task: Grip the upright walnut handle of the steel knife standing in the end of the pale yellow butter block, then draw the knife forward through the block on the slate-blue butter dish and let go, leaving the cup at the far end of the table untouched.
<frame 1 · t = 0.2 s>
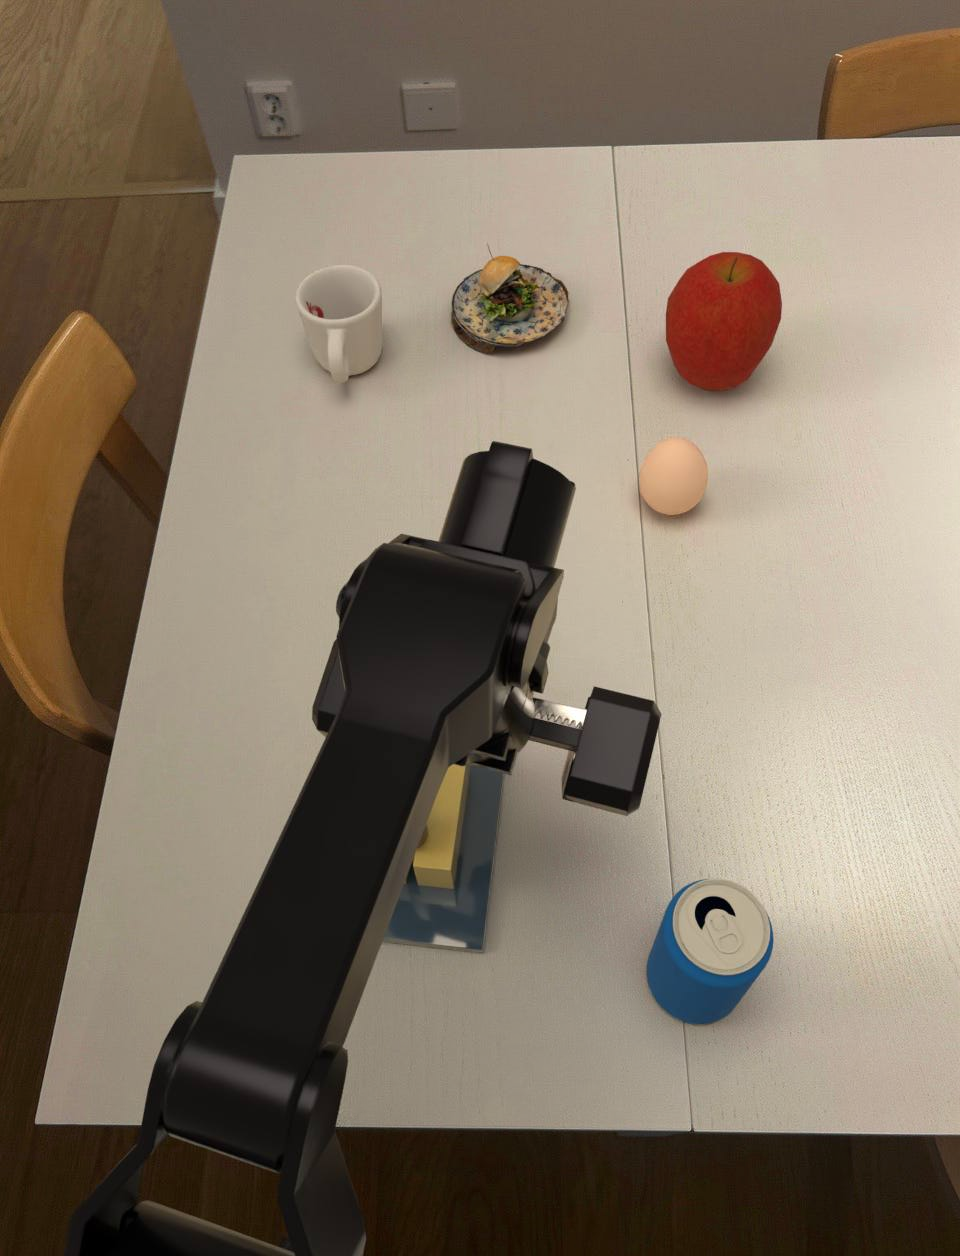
hand: (498, 748, 67), 13 cm above the table, tool pointing down, fingers open, 9 cm apart
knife: (411, 811, 72), point 7 cm above the table, slide at 0.0 cm
apple: (710, 377, 102), on the table
burger: (510, 317, 107), on the table
egg: (668, 505, 94), on the table
beverage can: (692, 978, 72), on the table
cup: (349, 368, 104), on the table
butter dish: (421, 835, 78), on the table
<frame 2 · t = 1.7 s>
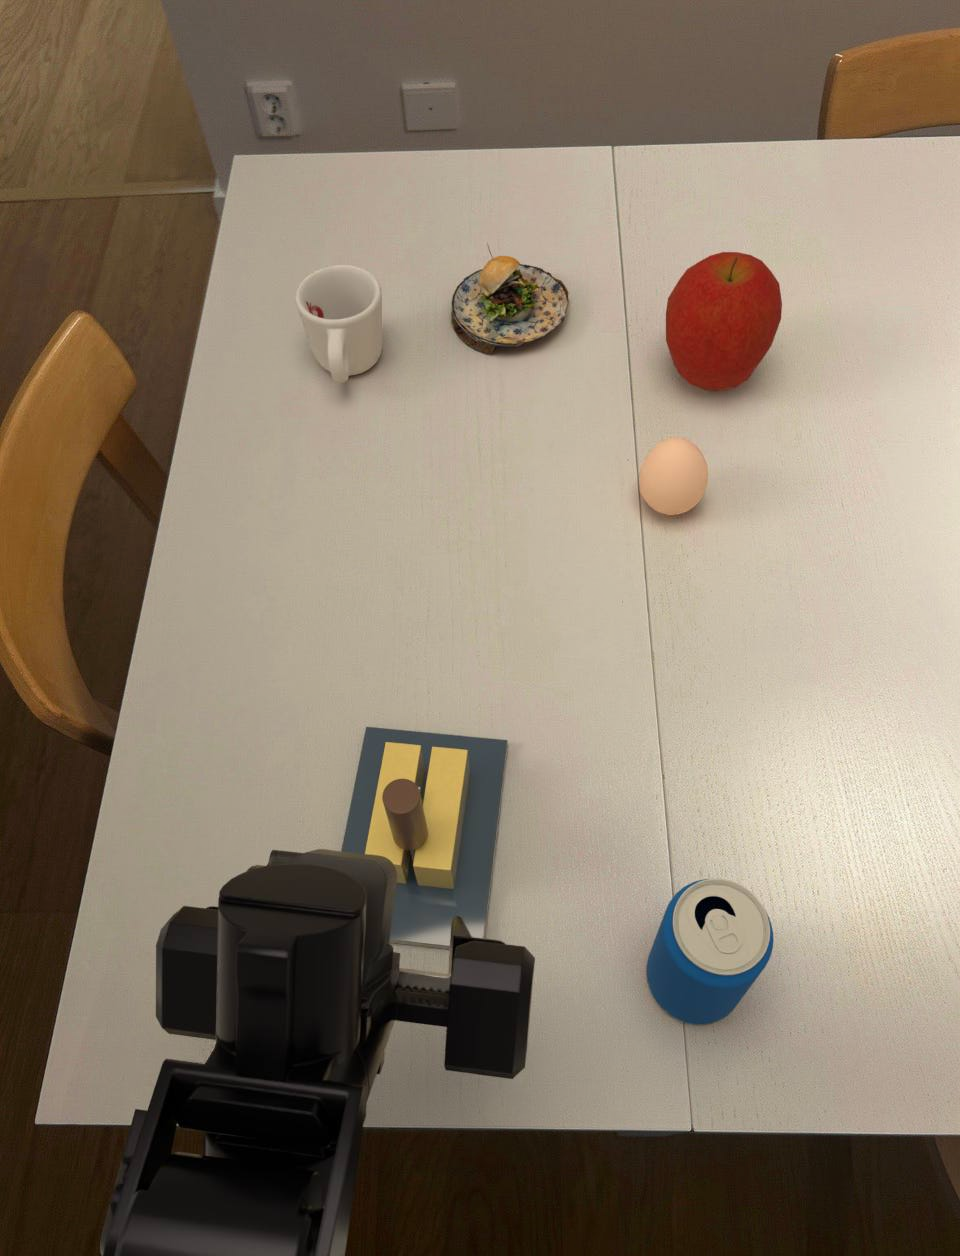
hand: (378, 914, 61), 13 cm above the table, tool tilted 45°, fingers open, 9 cm apart
nothing on the table moved.
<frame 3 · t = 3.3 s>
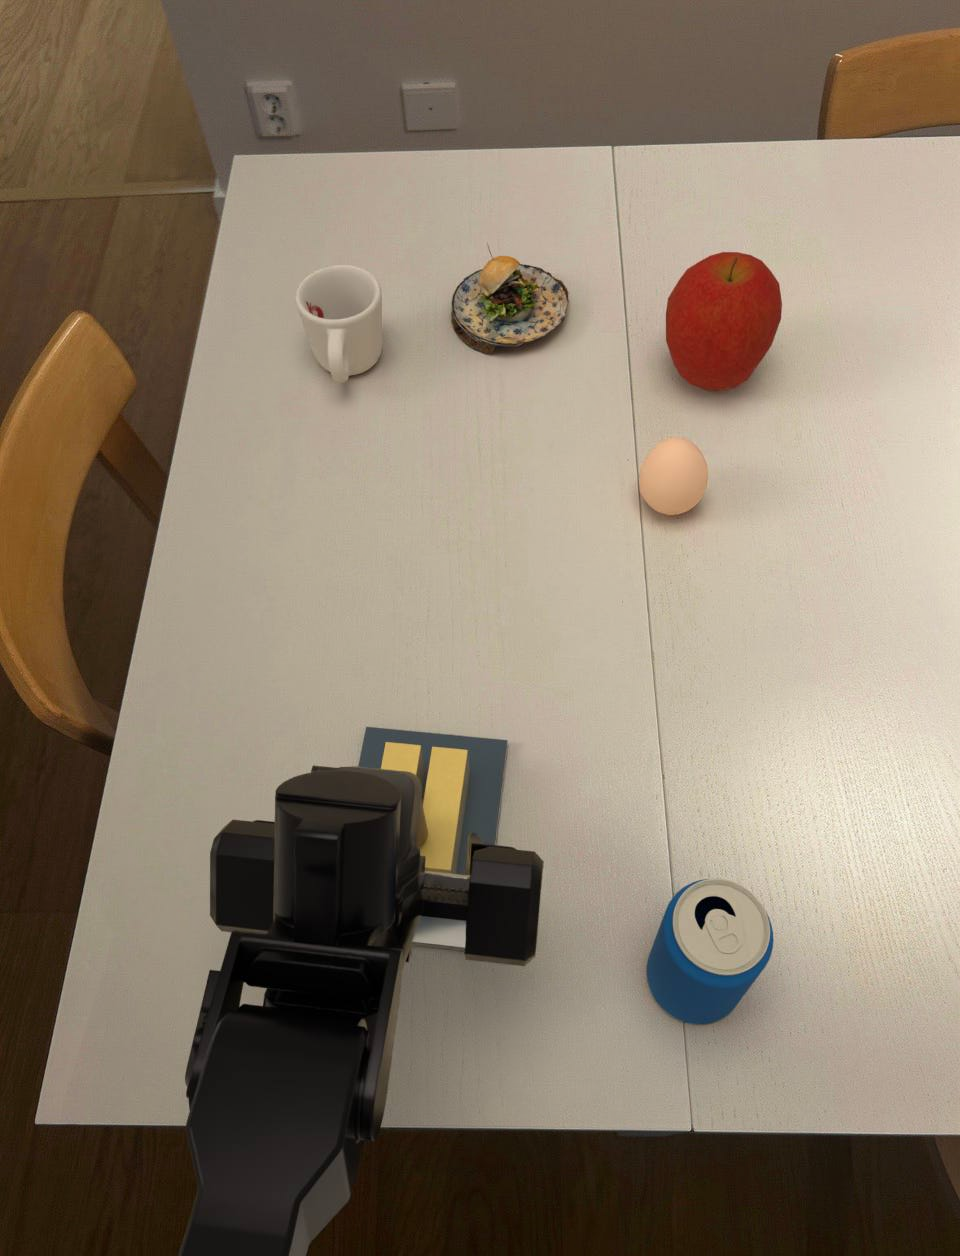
hand: (402, 832, 69), 9 cm above the table, tool tilted 45°, fingers open, 9 cm apart
nothing on the table moved.
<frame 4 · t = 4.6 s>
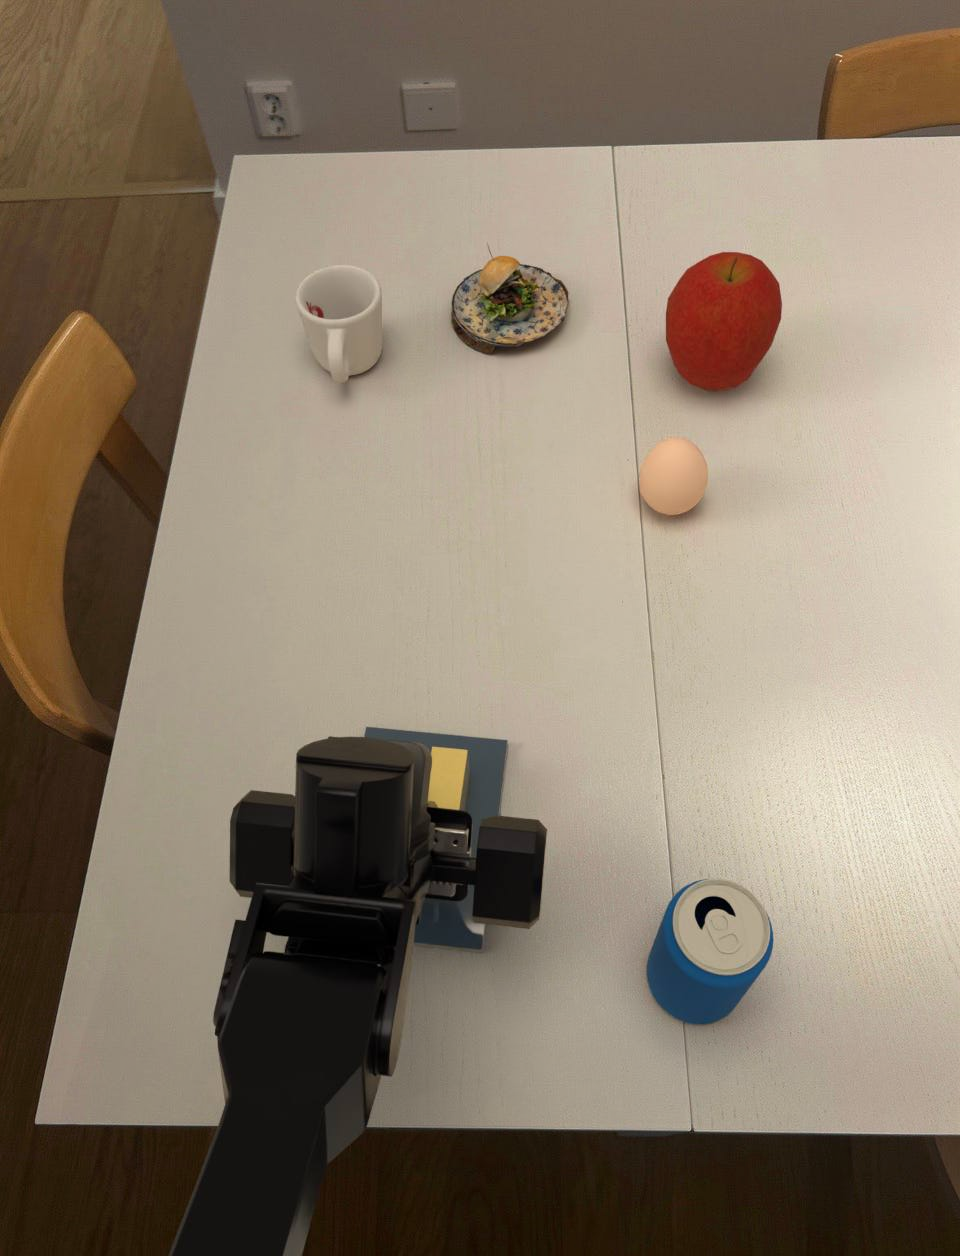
hand: (411, 805, 72), 7 cm above the table, tool tilted 45°, fingers closed on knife, 2 cm apart
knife: (411, 811, 72), point 7 cm above the table, slide at 0.0 cm, touching gripper
everything else where it was.
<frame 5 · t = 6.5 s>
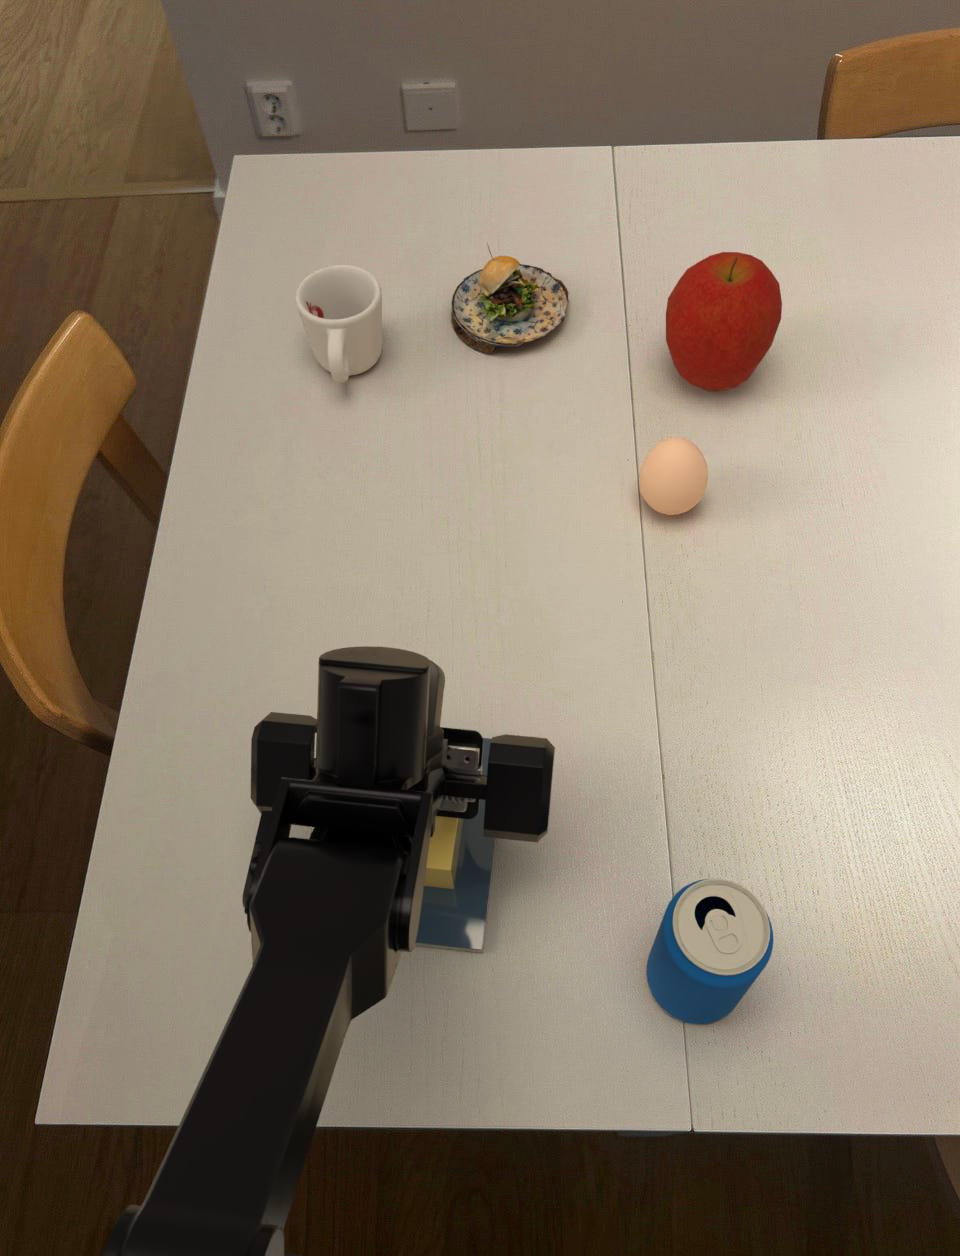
hand: (423, 734, 74), 7 cm above the table, tool tilted 45°, fingers closed on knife, 2 cm apart
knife: (423, 740, 75), point 7 cm above the table, slide at 5.4 cm, touching gripper
everything else where it was.
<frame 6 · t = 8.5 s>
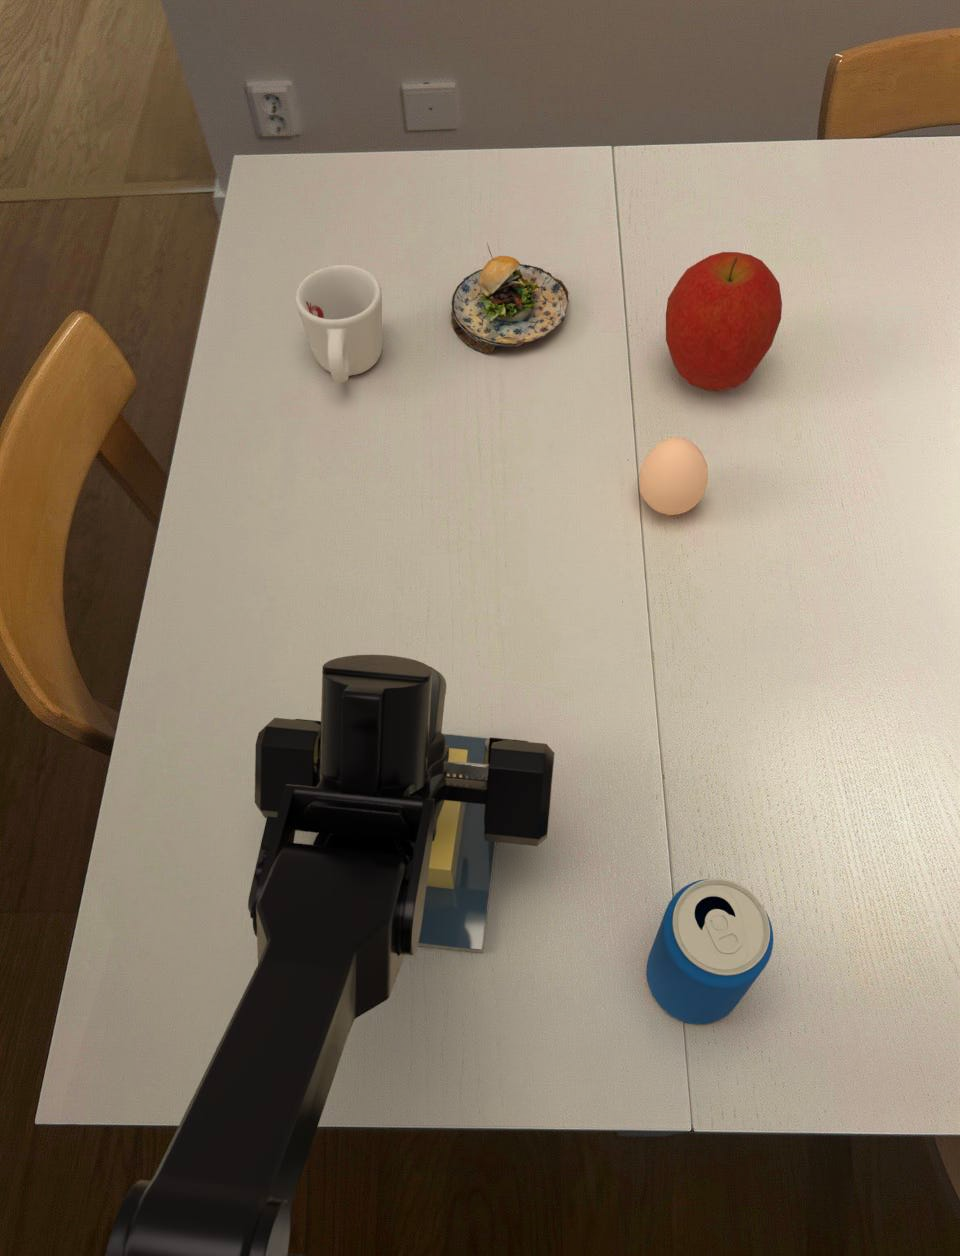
hand: (425, 739, 75), 6 cm above the table, tool tilted 45°, fingers open, 9 cm apart
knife: (425, 730, 75), point 7 cm above the table, slide at 6.2 cm
everything else where it was.
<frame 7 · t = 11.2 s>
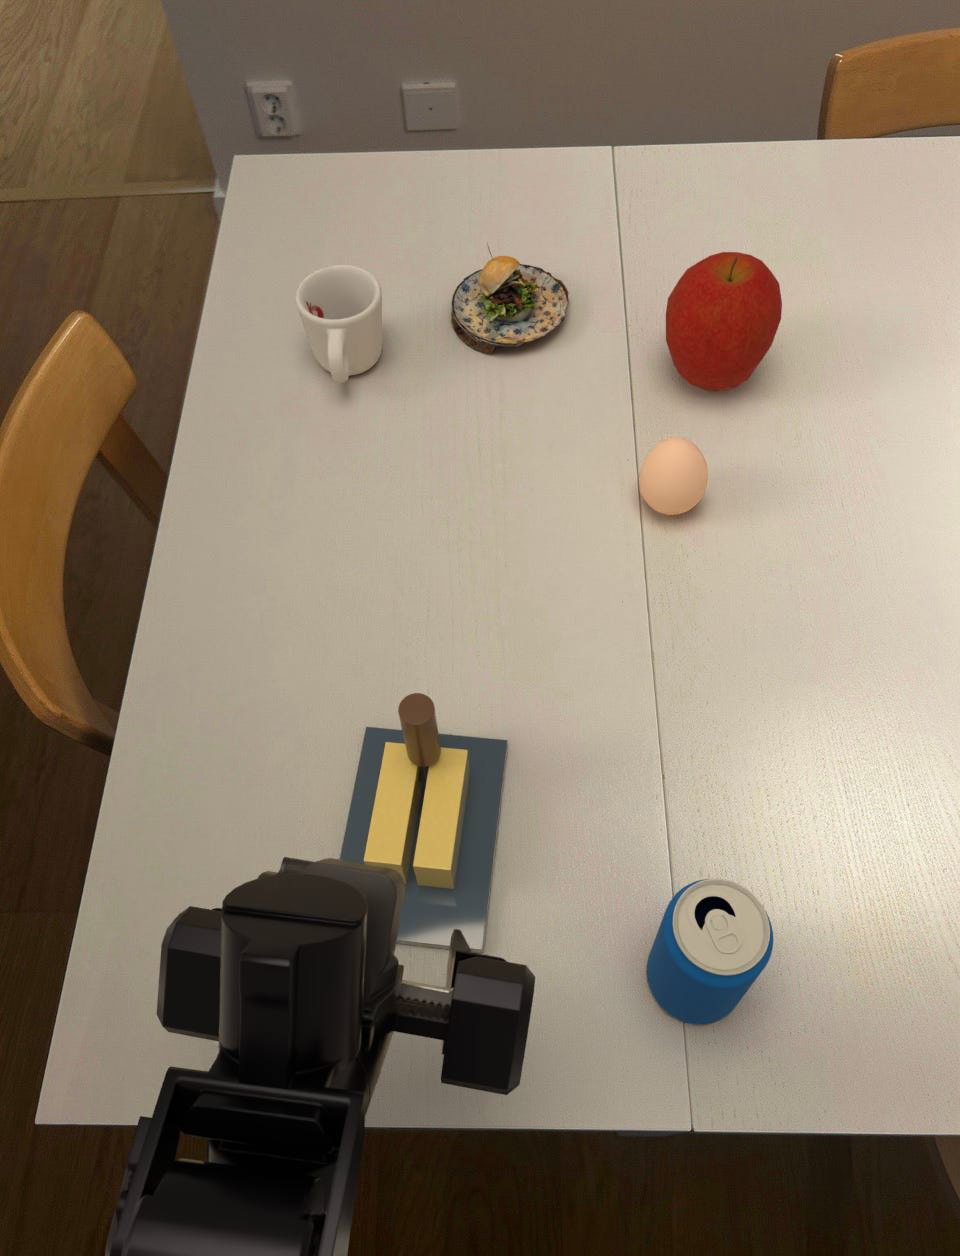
hand: (378, 923, 62), 13 cm above the table, tool tilted 45°, fingers open, 9 cm apart
nothing on the table moved.
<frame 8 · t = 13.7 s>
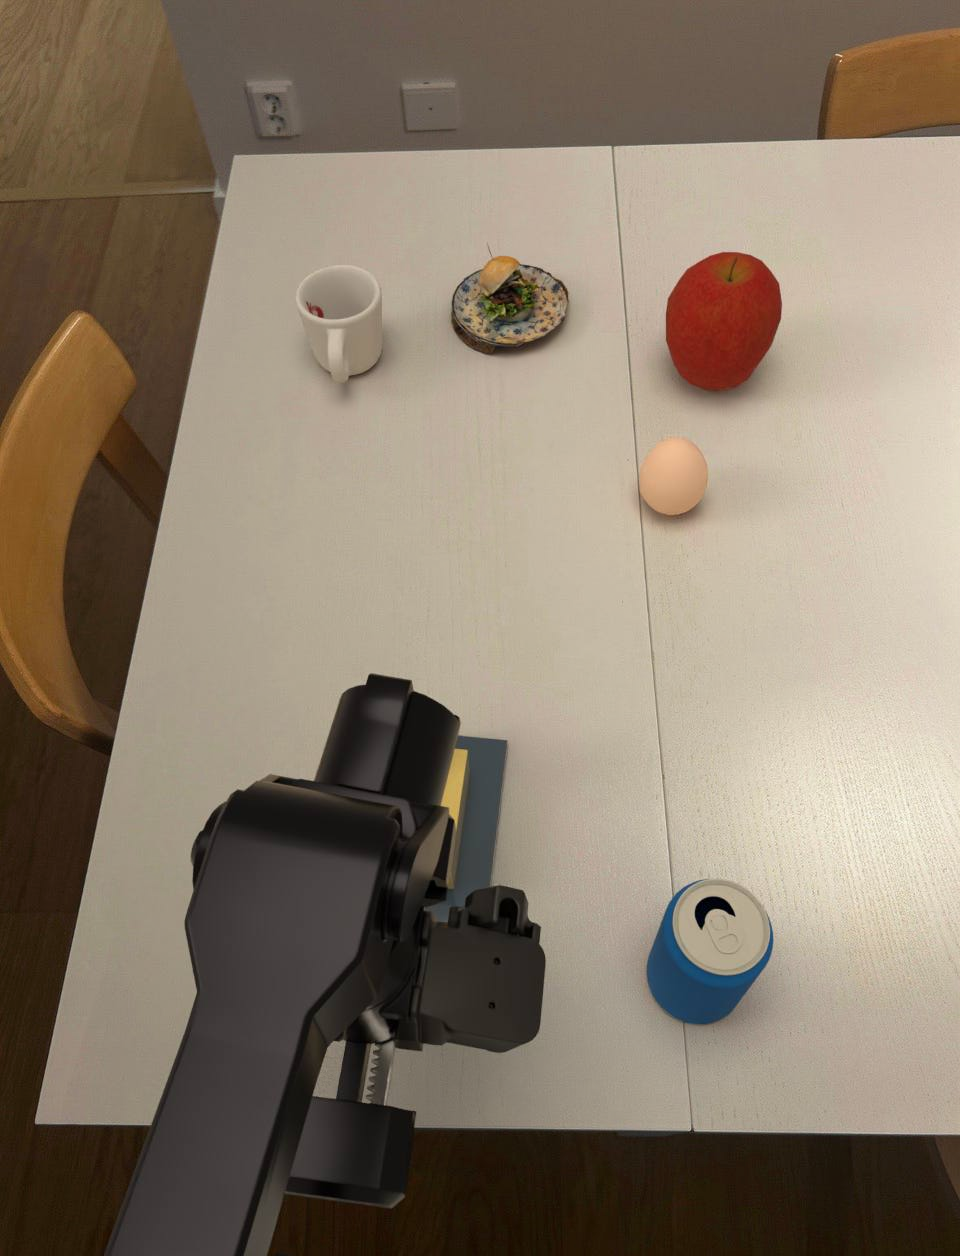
hand: (388, 1022, 59), 12 cm above the table, tool pointing down, fingers open, 9 cm apart
nothing on the table moved.
at the end: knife slide at 6.2 cm; cup moved 0.2 cm from its start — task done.
